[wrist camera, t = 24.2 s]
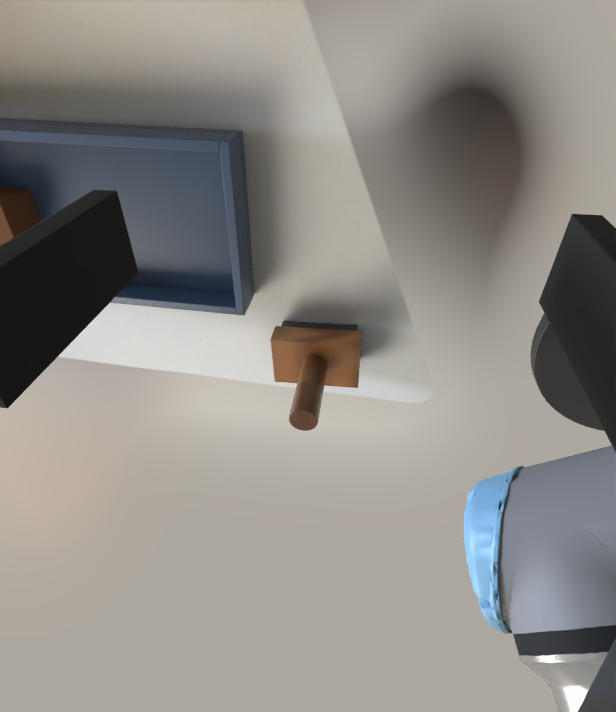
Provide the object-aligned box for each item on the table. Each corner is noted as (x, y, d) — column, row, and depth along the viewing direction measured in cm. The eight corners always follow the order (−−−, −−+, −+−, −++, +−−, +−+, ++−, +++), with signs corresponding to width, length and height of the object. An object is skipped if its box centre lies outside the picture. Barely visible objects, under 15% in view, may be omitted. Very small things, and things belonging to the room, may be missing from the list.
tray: (242, 130, 36) (228, 141, 33) (254, 295, 46) (244, 315, 43) (-38, 116, 39) (-75, 125, 36) (29, 274, 49) (4, 292, 46)
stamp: (362, 322, 46) (355, 402, 37) (359, 364, 50) (352, 446, 40) (278, 318, 47) (250, 393, 38) (281, 359, 51) (257, 437, 41)
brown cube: (29, 188, 41) (-1, 202, 38) (44, 229, 44) (17, 246, 41) (-10, 185, 42) (-42, 199, 39) (7, 226, 44) (-22, 242, 41)
